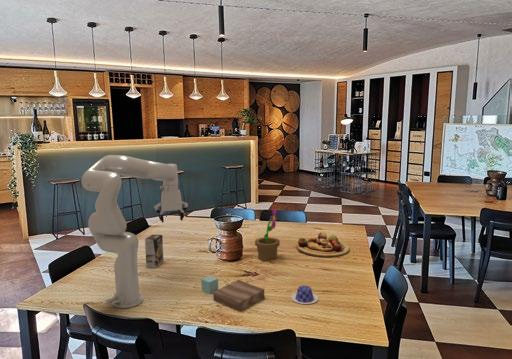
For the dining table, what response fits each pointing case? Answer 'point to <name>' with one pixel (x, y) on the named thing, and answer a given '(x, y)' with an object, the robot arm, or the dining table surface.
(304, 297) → the pudding
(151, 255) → the coffee box
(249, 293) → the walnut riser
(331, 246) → the wooden plate with food
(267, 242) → the flowerpot
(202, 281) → the teal cube
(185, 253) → the dining table surface
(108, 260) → the dining table surface
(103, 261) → the dining table surface
